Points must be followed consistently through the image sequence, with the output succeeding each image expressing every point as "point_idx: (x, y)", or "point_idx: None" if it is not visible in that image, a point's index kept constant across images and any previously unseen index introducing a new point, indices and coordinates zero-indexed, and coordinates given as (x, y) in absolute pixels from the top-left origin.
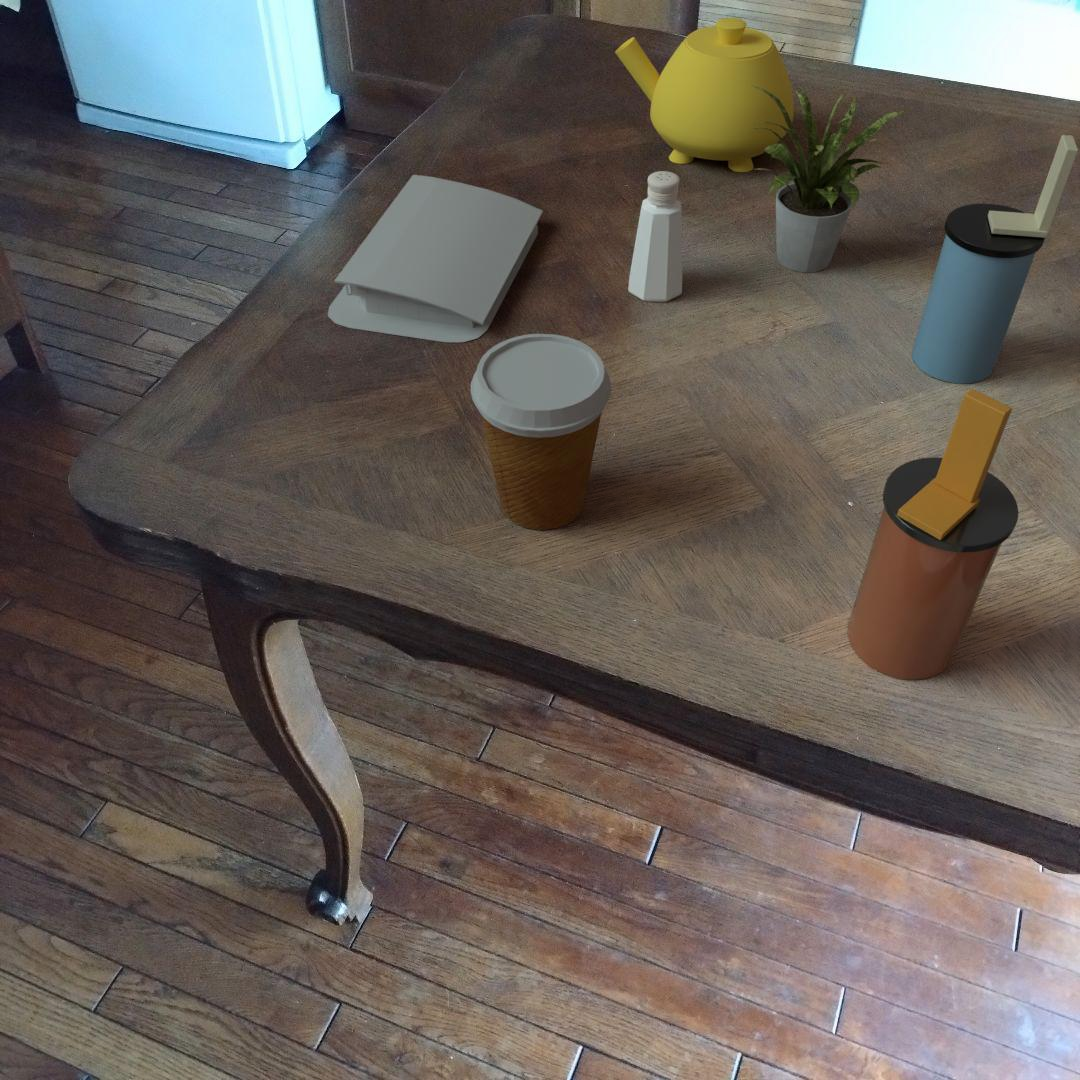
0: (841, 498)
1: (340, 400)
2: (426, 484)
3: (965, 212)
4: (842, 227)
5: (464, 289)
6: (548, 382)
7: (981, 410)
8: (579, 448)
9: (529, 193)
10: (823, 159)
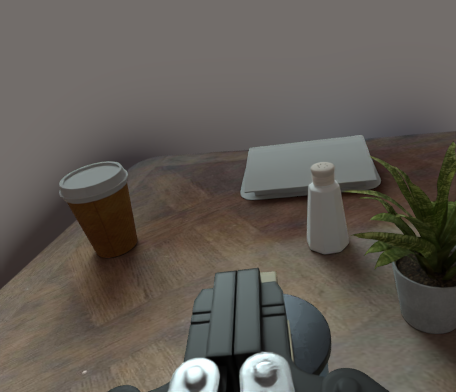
0: (91, 366)
1: (192, 183)
2: (134, 215)
3: (296, 307)
4: (427, 302)
5: (265, 177)
6: (84, 179)
7: None
8: (75, 214)
9: (415, 176)
10: None
